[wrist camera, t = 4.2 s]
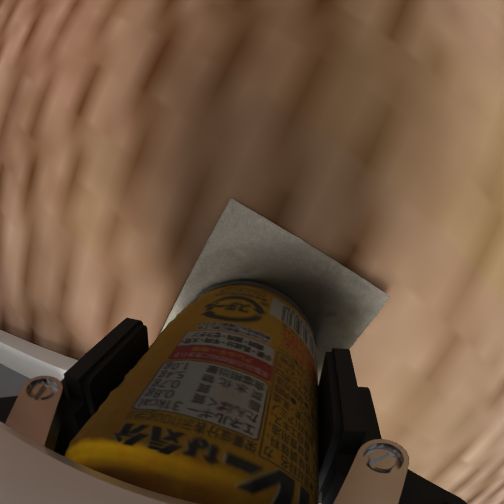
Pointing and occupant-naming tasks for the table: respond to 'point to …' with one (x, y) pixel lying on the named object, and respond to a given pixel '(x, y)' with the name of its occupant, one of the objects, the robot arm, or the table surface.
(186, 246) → the table surface
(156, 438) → the condiment
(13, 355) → the holder
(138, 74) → the table surface
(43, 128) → the table surface
